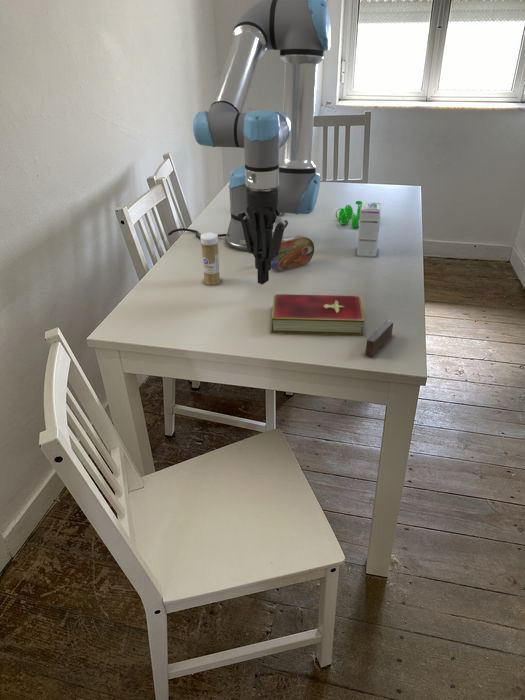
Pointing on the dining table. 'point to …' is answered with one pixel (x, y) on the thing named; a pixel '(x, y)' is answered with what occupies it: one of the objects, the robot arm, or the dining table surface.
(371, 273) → the dining table surface
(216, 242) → the sprinkles bottle
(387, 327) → the bar
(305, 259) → the tin
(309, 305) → the hardcover book
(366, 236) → the syrup box
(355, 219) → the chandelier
